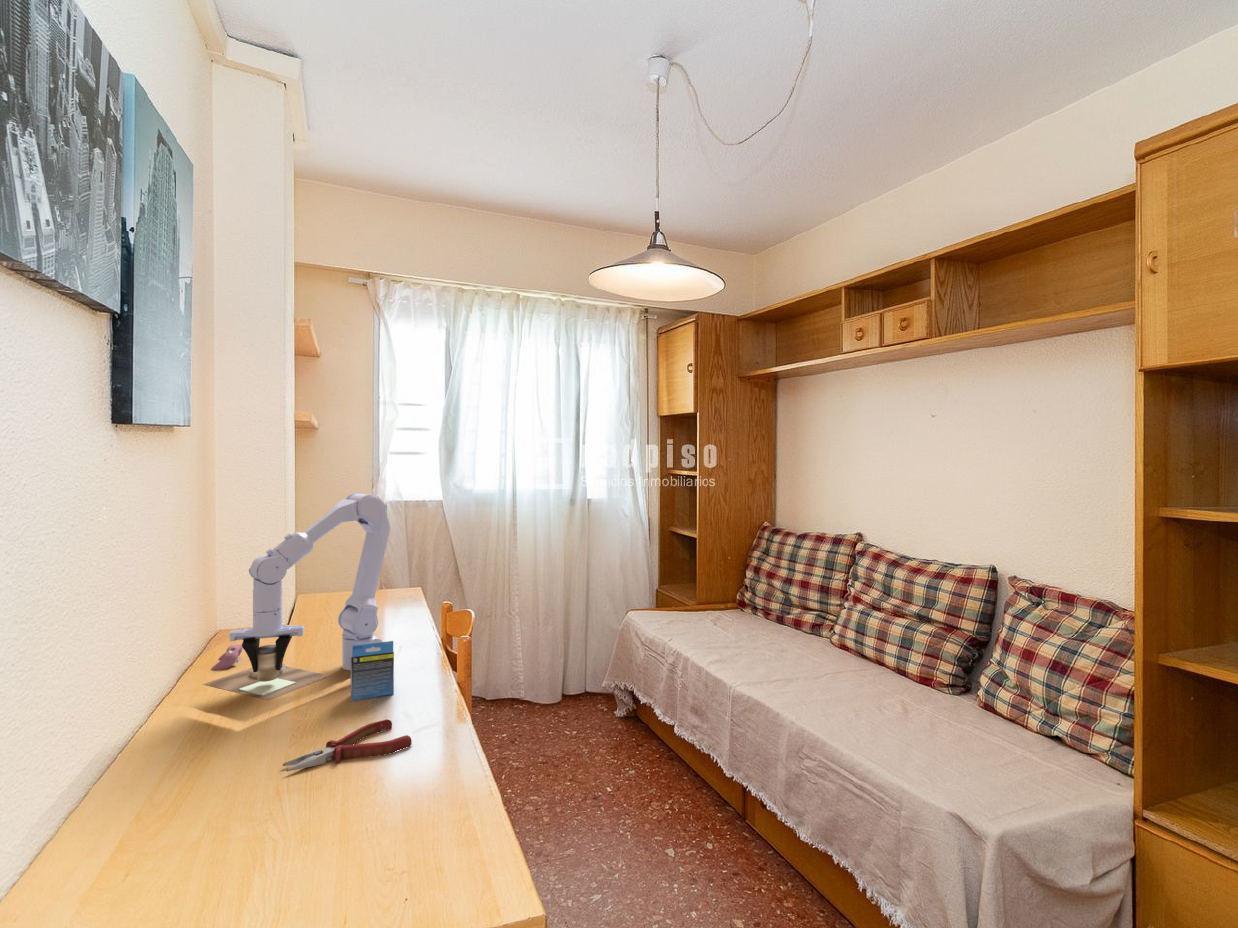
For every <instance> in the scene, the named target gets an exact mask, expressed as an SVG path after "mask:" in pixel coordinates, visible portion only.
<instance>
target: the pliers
mask: <svg viewBox="0 0 1238 928" xmlns="http://www.w3.org/2000/svg"><path fill="white" fill-rule="evenodd" d="M392 728H393V722H392V720H390V719H382V720H379V721H375V722H370V723H368V724H364V726H361V727H359V728H357V729H356V730H354V731H352V732H350V733H349V734H347V735H345V736H344V737H342V738H340V739H339V740H331V739H330V740H328V741H327V742H326V745H325V748H324V749H323V748H318V749H315V750H313V751H310V752H308V753H306V754H303V755H301V756H299V757H296V758H293V759H291V760H289V761H286V762H283V763H282V767H287V766H291V767H288V768H287V769H286V773H287V772H292V771H298V770H301V769H306V768H307V769H308V768H310V767H311V768H312V767H315V766H319V765H323V764H326V763H327V762H330V761H335V764H340V763H341V760H350V759H357V758H358V759H359V758H360V757H361V758H370V757H369V756H372V757H379V756H378V755H381V756H385V755H384V754H387V755H390V754H389V753H391V754H393V752H395V751H397V750H400V749H403V748H406V747H409V746H410V745H411V746H412V738H411V736H410V735H408V734H407V735H402V736H400V737H396V738H394V739H391V740H386V741H378V742H368V743H367V742H366V743H365V742H364V743H358V742H357V741H359V740H360V739H362V738H363V737H365V738H367V737H369V735H370V736H372V735H375V734H378V733H377V732H379V733H382V732H385V731H384V730H386V731H389V730H392ZM388 729H389V730H388ZM381 731H382V732H381ZM374 733H375V734H374ZM371 734H372V735H371ZM366 736H367V737H366ZM362 740H363V739H362ZM360 741H361V740H360ZM360 741H359V742H360ZM356 742H357V743H356ZM354 743H355V744H354ZM353 744H354V745H353ZM411 746H410V747H411ZM410 747H409V748H410ZM406 749H407V748H406ZM403 750H404V749H403ZM400 751H401V750H400ZM395 753H396V752H395ZM361 758H360V759H361Z"/></svg>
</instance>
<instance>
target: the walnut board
mask: <svg viewBox="0 0 1238 928" xmlns="http://www.w3.org/2000/svg"><path fill="white" fill-rule="evenodd" d="M251 670H252V667H251V668H248V669H245V670H241V671H239V672H235V673H233V674H229V675H227V676H223V677H219V678H217V679H214V680H210V681H208V682H205V683H203V684H202V685H203V686H208V687H212V688H216V689H219V690H220V689H221V690H224V691H228V692H232V693H237V694H241V695H245V696H249V697H253V698H257V699H260V700H261V699H262V700H265V701H270V700H272V699H275V698H278V697H281V696H283V695H285V694H288V693H291V692H293V691H296V690H299V689H300V688H304V687H306V686H310V685H311V684H313V683H316V682H317V683H318V682H319V681H322V680H324V679H327V678H329V677H331V676H332V675H331V674H326V673H320V672H316V671H311V670H307V669H306V670H305V669H301V668H297V667H291V666H286V665H285V672H284V673H283V674H281V675H278V678H279V679H283V680H288V681H292V682H296V684H294V685H291V686H289V687H286V688H283V689H281V690H278V691H276V692H273V693H270V694H268V695H265V696H261V695H256V694H252V693H248V692H244V691H240V690H239V689H240V688H243V687H246V686H248V685H251V684H254V683H257V682H260V681H258V680H257V678H253V677H252V676H251Z"/></svg>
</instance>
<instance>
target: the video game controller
mask: <svg viewBox="0 0 1238 928" xmlns="http://www.w3.org/2000/svg"><path fill="white" fill-rule="evenodd" d="M243 650H244V649H243V647H242V644H237V643H234V644H232V645H230V646H228V647H227V649H226V650H225V652H224V653H223V654H222V655H221V656H219V658H218V660H217V661H219V662H217V663H216V664H215V665H214V666H212V667H211V669H210V671H220V670H227V669H229V668H232V666H233V665H234V664H235V663H236V664H237V663H239V662H240V658H239V656H240V655H241V654H242V652H243Z"/></svg>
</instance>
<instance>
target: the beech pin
mask: <svg viewBox="0 0 1238 928" xmlns="http://www.w3.org/2000/svg"><path fill="white" fill-rule="evenodd" d="M276 661H277V652H276V644H264V645H260V646H259V647H258V648H257V680H258V681H260V682H265V681H271V680H274V679H277V678H278V670H276Z"/></svg>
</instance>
